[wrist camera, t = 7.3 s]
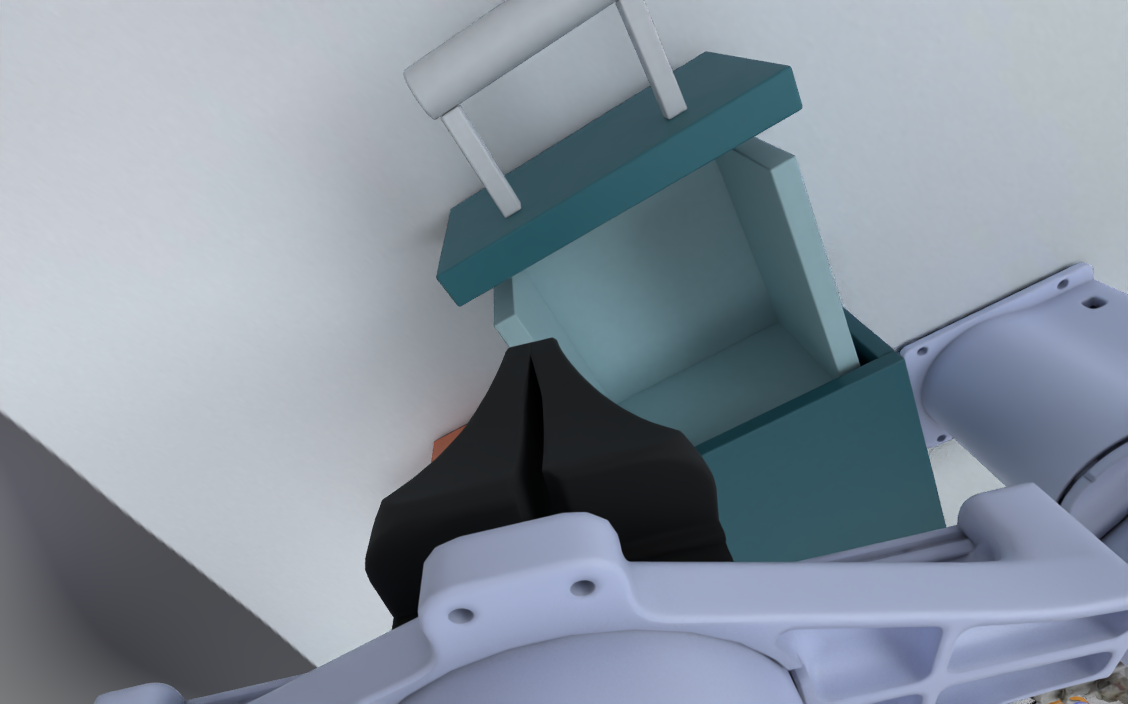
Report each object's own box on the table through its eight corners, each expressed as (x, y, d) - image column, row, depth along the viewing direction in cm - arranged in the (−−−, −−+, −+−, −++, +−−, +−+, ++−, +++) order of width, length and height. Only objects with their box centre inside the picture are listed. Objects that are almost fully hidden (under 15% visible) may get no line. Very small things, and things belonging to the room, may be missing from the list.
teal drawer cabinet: (563, 384, 27) (587, 510, 20) (792, 263, 25) (905, 358, 18) (666, 530, 34) (711, 662, 27) (855, 443, 32) (955, 563, 25)
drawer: (369, 95, 19) (318, 128, 13) (652, -99, 17) (730, -154, 12) (594, 415, 28) (619, 516, 22) (799, 310, 26) (885, 392, 20)
